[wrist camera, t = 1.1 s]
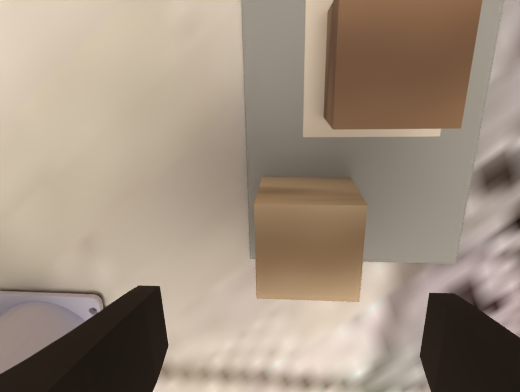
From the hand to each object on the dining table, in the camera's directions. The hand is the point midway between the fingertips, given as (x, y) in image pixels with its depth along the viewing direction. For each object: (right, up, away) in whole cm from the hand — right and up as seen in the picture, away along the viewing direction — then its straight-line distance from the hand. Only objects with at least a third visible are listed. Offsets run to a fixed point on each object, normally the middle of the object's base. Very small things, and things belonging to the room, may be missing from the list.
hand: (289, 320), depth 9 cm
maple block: (+2, +2, +9) cm, 9 cm away
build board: (+4, +7, +8) cm, 11 cm away
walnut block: (+4, +9, +6) cm, 12 cm away
